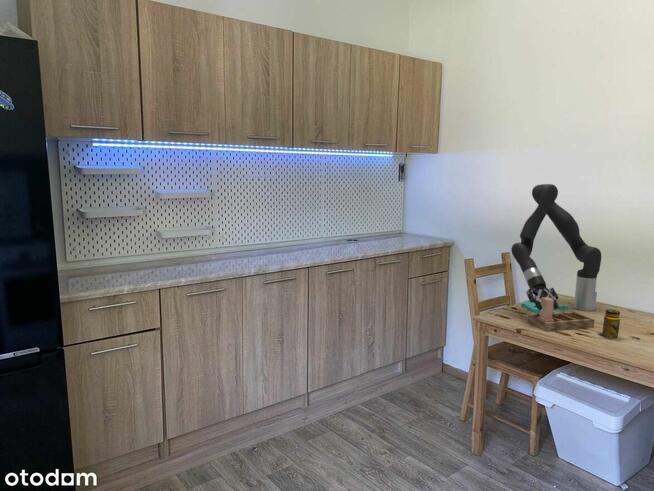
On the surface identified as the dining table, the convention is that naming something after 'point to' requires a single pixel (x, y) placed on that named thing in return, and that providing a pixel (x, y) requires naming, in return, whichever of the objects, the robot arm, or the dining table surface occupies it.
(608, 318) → the condiment
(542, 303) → the tan piece
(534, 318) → the rack
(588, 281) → the robot arm
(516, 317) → the dining table surface
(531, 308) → the alien figure
